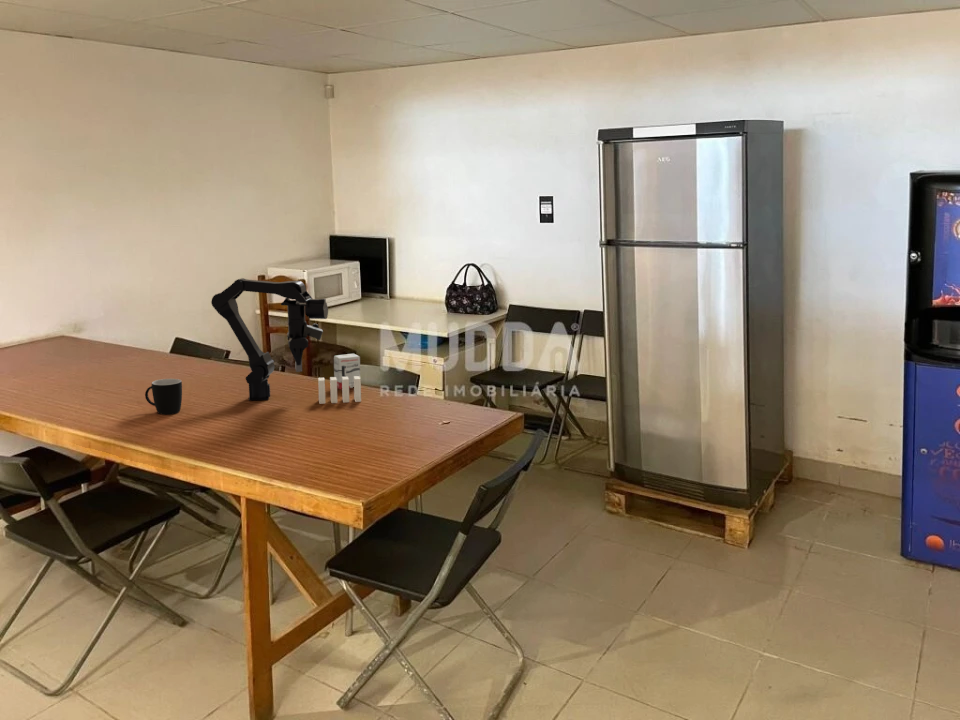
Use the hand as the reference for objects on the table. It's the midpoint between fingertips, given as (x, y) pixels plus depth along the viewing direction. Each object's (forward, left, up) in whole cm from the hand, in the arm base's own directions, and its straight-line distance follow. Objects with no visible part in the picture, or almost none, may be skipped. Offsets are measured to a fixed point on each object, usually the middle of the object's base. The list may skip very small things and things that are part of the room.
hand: (298, 363), depth 265 cm
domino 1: (0, 0, -2) cm, 2 cm away
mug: (-43, -8, -13) cm, 45 cm away
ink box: (+17, +15, -13) cm, 26 cm away
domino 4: (+15, -5, -13) cm, 20 cm away
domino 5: (+19, -5, -13) cm, 24 cm away
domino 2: (+7, -5, -13) cm, 15 cm away
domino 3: (+11, -5, -13) cm, 18 cm away
